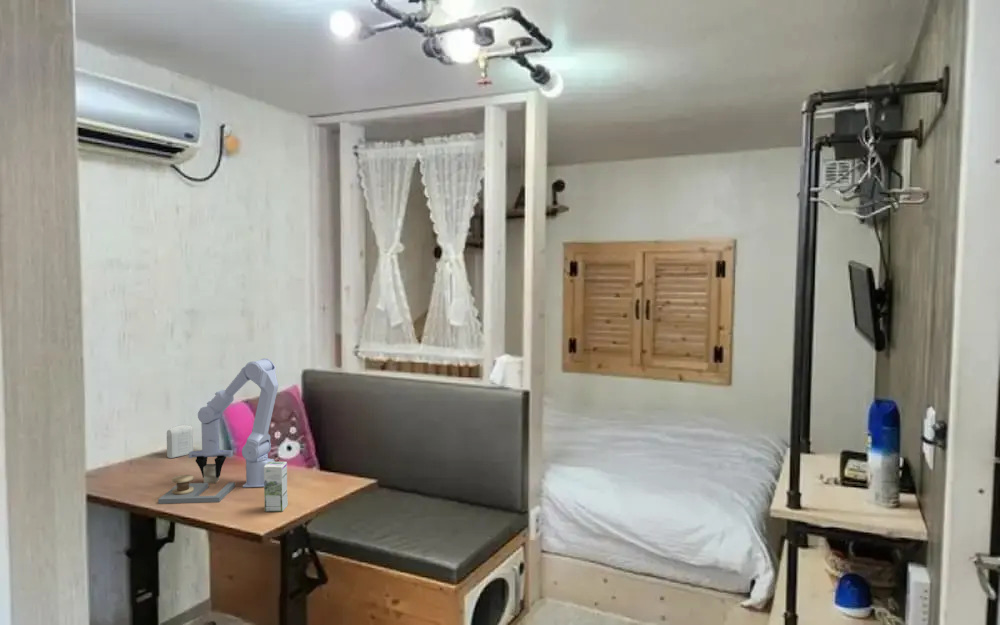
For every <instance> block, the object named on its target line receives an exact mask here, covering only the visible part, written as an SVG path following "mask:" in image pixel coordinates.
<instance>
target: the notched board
mask: <svg viewBox="0 0 1000 625" xmlns="http://www.w3.org/2000/svg"><path fill="white" fill-rule="evenodd" d="M189 486H191V487H193V488H194V491H193V492H191V493H188V494H184V495H174V494H172V490H173V489H175V488H177V484H176V485H175V486H173V487H172V488H171V489H169V490H168V491H167V492H165V494H163V495H162V496H160V497H159V498H158V499H157V501H158V504H159V505H160V504H161V505H163V504H165V505H167V504H197V503H198V504H199V503H203V504H204V503H220V502H221V501H222V500H223V499H224V498H225V497H226V496H227V495H228V494H229V493H231V491H232V490H233V489H234V488H235V487H236V482H235V481H230V482H229V481H228V483H227V484H226V485H225V486H223V488H222V489H221V490H219V491H218V492H217V493H216V494H215V495H201V494H203V492H205V491H206V490H207V489H208V488H209V484H208V483H204V482H193V483H191V482H189Z"/></svg>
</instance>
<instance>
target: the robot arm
mask: <svg viewBox="0 0 1000 625" xmlns="http://www.w3.org/2000/svg"><path fill="white" fill-rule="evenodd" d="M276 369H277V366H276V365H275V364H274V362H272V360H271V359H269V358H261V359H259V360H252V361H249V362H247V363H246V364H245V366H243V367H242V368H241V369H240V371H239V373H238V374H237V375H236V376H235V377H234V378H233V379H232V381H231V382H230V384H229V385H228V386H227V387H226V388H225V389H221V390H218V391H216V392H215V393H214V395H215V396H214V397H213V398H212V399H211V400H209V401H208V402H207V403H206V404H207V405H206V406H202V407H200V409H199V410H198V413H197V418H198V420H199V421H200V423H201V450H193V451H191V452H189V454H188V458H189V459H191V458H196V459H195V463H196V464H197V466H198V468H199V470H200V473H201V475H202V479H204V472H203V467H204V466H205V465H207V464H208V458H214V464H215V465H216V478H218V477H219V478H220V477H221V471H222V469H223V465H224V462H225V460H226V458H231V457H233V456H234V450H232V449H230V450H229V449H221V448H220V443H221V442H220V420H221V418H222V417H223V413H224V411H226V410H227V408H228V407H229V406H230V405H231V404H232V403H233V402H234V399H235V398H234V396H235V395H236V393H237V392H238V391H240V390H241V388H242V387H244V386H245V385H246V383H248V382H249V381H251V382H252V383H254V384H256V386H258V387H259V389H260V393H259V397H258V402H257V407H256V411H255V415H254V421H253V425H252V430H251V433H250V434H249V436H248V437H247V439H246V442H245V444H244V445H243V447H242V448H241V455H242V457H243V459H245V472H246V474H245V479H246V482H245V483H244V484H243V485H242V488H264V466H265V465H266V464H267V463H268V462H276V461H275V459H274V458H270V457H268V456H269V455H268V454H269V453H270V451H271V449H272V444H271V435H270V434H269V431H270V427H271V426H270V425H271V421H272V417H273V416H272V415H273V413H274V407H275V403H276V398H277V393H278V389H279V382H278V378H277V374H276Z"/></svg>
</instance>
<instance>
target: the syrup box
mask: <svg viewBox="0 0 1000 625" xmlns="http://www.w3.org/2000/svg"><path fill="white" fill-rule="evenodd" d="M263 489H264V491H263V495H264V496H263V497H264V499H263V500H264V501H263V502H264V512H267V513H268V512H271V513H272V512H283V511H284V510H285V509H286V508H287V506H288V505H289V503H288V462H287V461H275V462H268V463H267V464H266V465H265V466H264V487H263Z"/></svg>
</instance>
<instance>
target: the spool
mask: <svg viewBox="0 0 1000 625" xmlns="http://www.w3.org/2000/svg"><path fill="white" fill-rule="evenodd" d="M193 480H194V475H191V474H183V475H176V476H174V477H172V479H171V482H172V483H173V484H176V485H177V488H175V489H173V490H172V494H174V495H184V494H188V493H191V492H193V491H194V488H193V487H191V486H189V483H190V482H192V481H193Z"/></svg>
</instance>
